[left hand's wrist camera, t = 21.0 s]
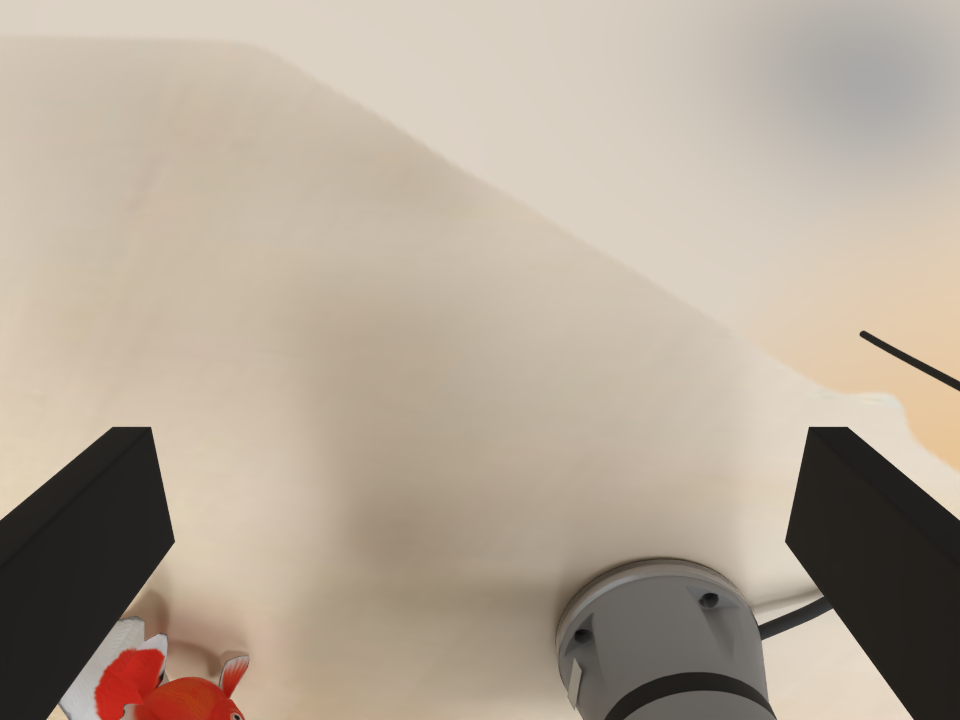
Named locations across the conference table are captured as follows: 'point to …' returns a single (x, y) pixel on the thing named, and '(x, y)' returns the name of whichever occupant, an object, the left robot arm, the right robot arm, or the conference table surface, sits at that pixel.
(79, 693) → the fish
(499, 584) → the conference table surface
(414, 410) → the conference table surface
